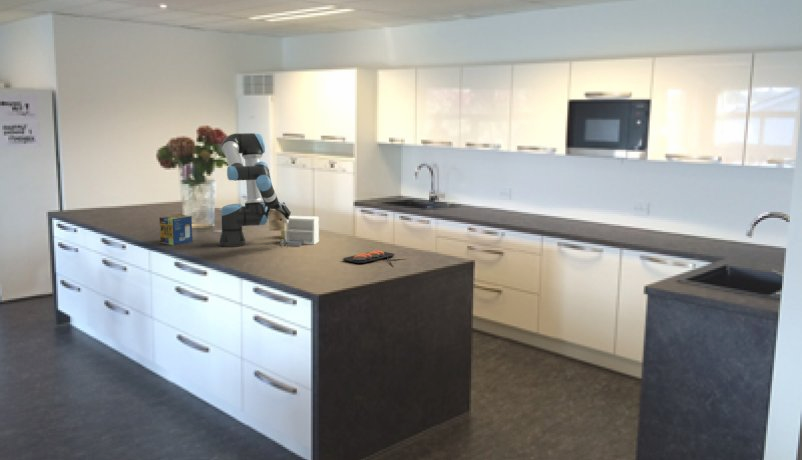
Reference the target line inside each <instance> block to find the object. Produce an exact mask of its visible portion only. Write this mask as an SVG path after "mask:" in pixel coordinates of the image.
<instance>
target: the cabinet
mask: <svg viewBox="0 0 802 460" xmlns="http://www.w3.org/2000/svg"><path fill="white" fill-rule="evenodd" d="M319 242H320V217H319V216H311V215H310V216H308V215H307V216H306V215H305V216H304V215H290V216H289V222H288V224H287V230H286V231H285V239H283V240H282V241H280V247H281V246H284V245H287V246H286V247H300V246H301V247H302V245H303V246H304V245H316V244H317V243H319Z"/></svg>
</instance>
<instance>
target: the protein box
mask: <svg viewBox="0 0 802 460" xmlns="http://www.w3.org/2000/svg"><path fill="white" fill-rule="evenodd" d="M159 233H160V234H159V235H160V244H161V245H170V246H177V245H181V244H186V243H190V242H193V220H192V215H185V214H174V215H173V214H171V215H167V216H162V217H161V216H160V217H159Z"/></svg>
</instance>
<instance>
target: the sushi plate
mask: <svg viewBox="0 0 802 460" xmlns="http://www.w3.org/2000/svg"><path fill="white" fill-rule="evenodd" d="M393 256H395V253H393V252H387V251H381V250H372V251H370V252H365V253H359V254H356V255H355V254H354V255H351V256H347V257H343V258H342V260H343V261H345V262H350V263H355V264H364V263H369V262H373V261H374V262H375V261H377V262H378V261H380V262H381V261H384V259H385V258H387V261H388V262H389V264H390V266H391V267H392V268H394V265H393V263H392V262H391V261H403V260H404V261H405V260H406V258H397V259H396V258H392V259H390V257H393Z"/></svg>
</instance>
